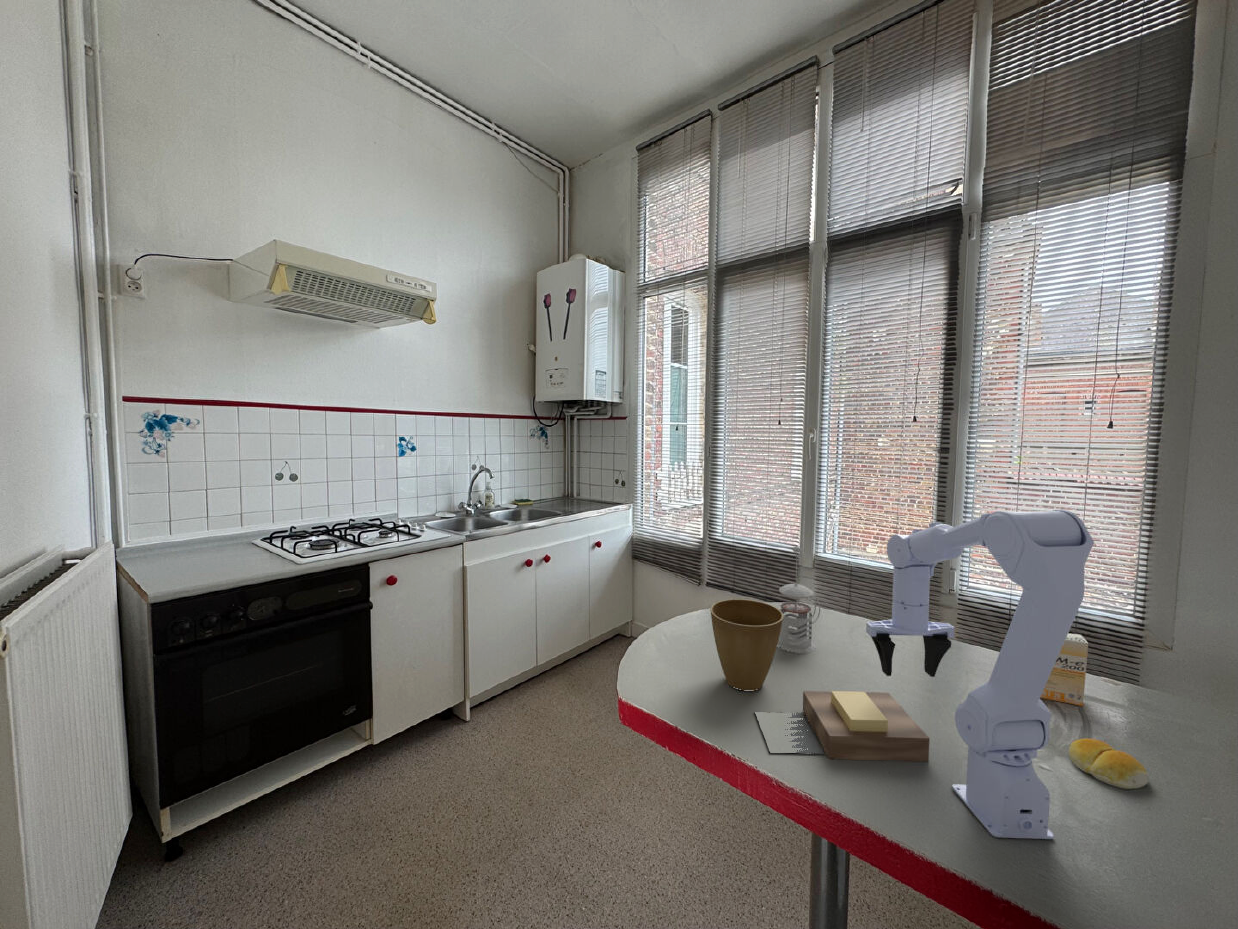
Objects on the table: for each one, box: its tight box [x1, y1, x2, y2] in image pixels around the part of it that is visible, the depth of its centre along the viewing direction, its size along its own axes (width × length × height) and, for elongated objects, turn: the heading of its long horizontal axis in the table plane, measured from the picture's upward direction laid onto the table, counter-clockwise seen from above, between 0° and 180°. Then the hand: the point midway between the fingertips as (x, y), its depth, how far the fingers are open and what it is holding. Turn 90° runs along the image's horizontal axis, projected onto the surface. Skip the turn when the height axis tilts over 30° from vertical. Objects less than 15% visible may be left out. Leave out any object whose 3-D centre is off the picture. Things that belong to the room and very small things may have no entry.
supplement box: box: [1040, 632, 1089, 707], centre depth 101 cm, size 8×5×13 cm, turn 62°
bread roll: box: [1068, 737, 1150, 790], centre depth 81 cm, size 8×9×4 cm
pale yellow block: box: [830, 690, 888, 732], centre depth 89 cm, size 9×6×2 cm, turn 177°
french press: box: [778, 546, 821, 654], centre depth 126 cm, size 10×12×25 cm
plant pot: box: [710, 598, 784, 690], centre depth 107 cm, size 15×15×16 cm
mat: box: [785, 711, 825, 755], centre depth 91 cm, size 12×9×1 cm
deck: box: [802, 690, 930, 762], centre depth 90 cm, size 14×16×4 cm
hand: (908, 673), depth 92 cm, fingers open, 7 cm apart
